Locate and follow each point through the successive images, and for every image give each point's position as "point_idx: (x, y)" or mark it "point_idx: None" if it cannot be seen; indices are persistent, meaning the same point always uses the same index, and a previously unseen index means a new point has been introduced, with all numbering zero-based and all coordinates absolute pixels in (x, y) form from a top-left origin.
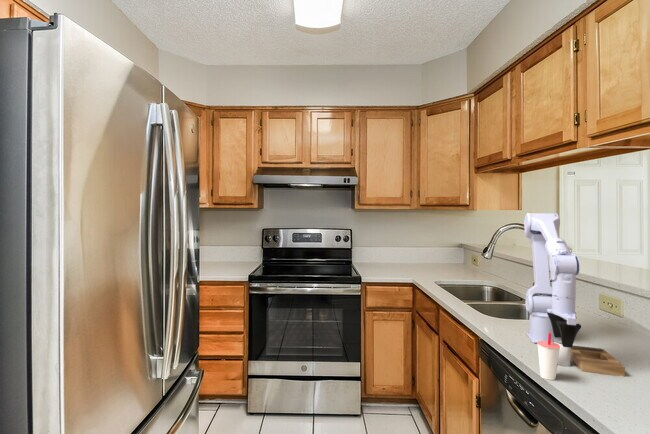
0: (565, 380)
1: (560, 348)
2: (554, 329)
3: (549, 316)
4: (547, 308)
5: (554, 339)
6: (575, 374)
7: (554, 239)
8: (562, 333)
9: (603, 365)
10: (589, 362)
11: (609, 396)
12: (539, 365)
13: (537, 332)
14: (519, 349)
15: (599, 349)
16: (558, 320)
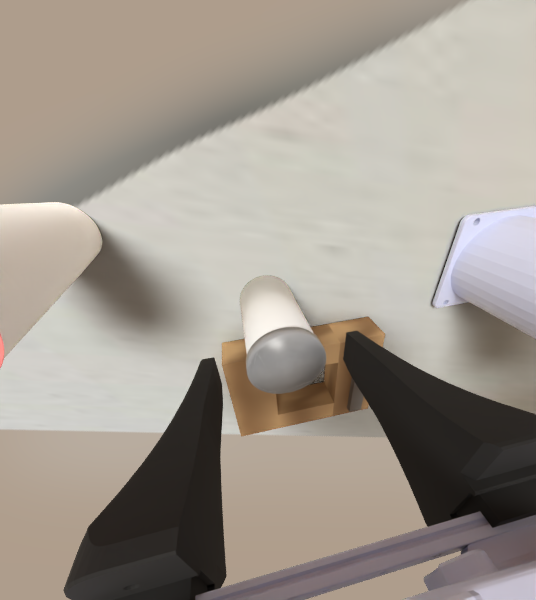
0: (91, 293)
1: (248, 332)
2: (374, 363)
3: (469, 432)
4: None
5: (285, 333)
6: (181, 326)
7: None
8: (161, 441)
9: (233, 404)
10: (233, 381)
11: (58, 384)
12: (12, 204)
13: (512, 250)
14: (380, 137)
15: (350, 406)
16: (416, 442)
